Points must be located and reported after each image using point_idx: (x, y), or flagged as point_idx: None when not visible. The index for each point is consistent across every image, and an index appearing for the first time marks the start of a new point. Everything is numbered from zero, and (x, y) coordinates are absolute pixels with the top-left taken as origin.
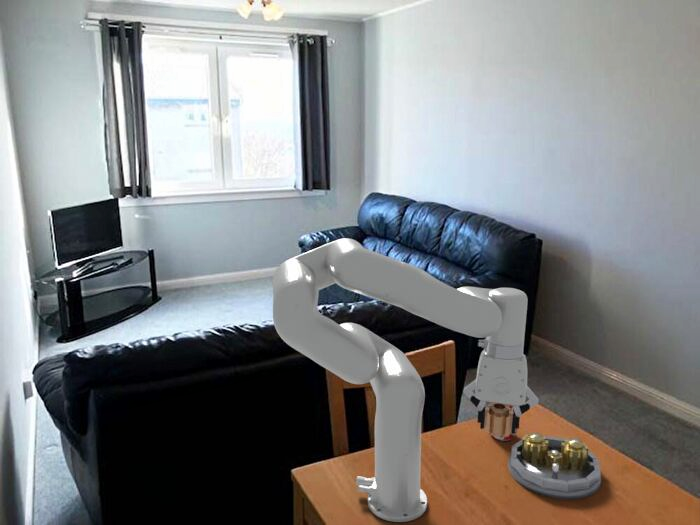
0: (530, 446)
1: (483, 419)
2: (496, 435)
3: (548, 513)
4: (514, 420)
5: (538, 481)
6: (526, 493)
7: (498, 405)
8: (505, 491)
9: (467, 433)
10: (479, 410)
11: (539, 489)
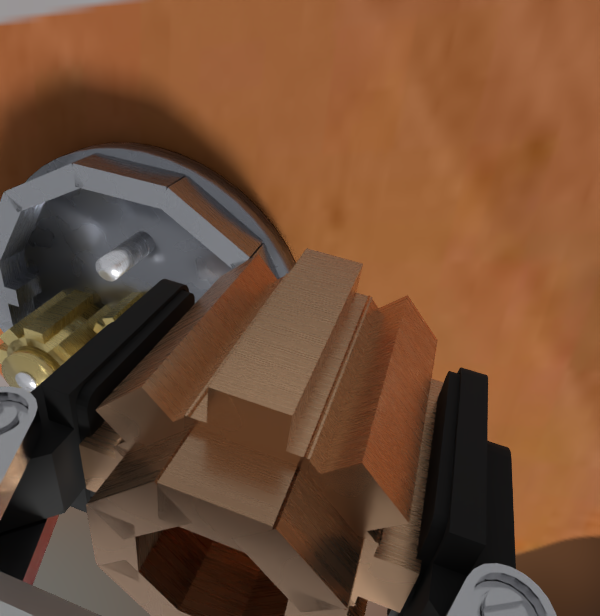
0: None
1: (451, 447)
2: (334, 263)
3: (182, 36)
4: (89, 362)
5: (193, 197)
6: (259, 173)
7: (231, 600)
8: (344, 182)
9: None
10: (511, 576)
11: (202, 176)
